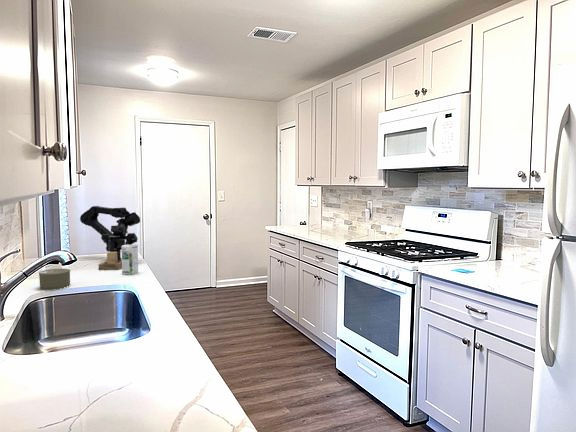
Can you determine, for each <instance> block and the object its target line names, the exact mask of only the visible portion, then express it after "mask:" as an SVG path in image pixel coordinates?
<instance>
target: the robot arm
mask: <svg viewBox="0 0 576 432" xmlns="http://www.w3.org/2000/svg"><path fill="white" fill-rule="evenodd" d="M99 214H101V215H109V216H111V217H113V218H116V219H117V218H118V219H117V220H116V223H117V224H116V225H111V226H110V230H109V229H108V228H107V227H105V226H104V225H103V224H102V223H101V222H100V221H99V220H98V218H99V216H100V215H99ZM79 221H80V222H81V223H82V224H83V225H84V226H88V227H91V228H92V229H93V230H94V231H96V232H97V233H98V234H100V239H101V241H102V242H103V243H104V244H105V245H106V247H105V250H106V252H107V253H108V252H117V261H122V246H123V245H134V244H135V243H137V242H138V237H137V236H138V235H136V233H135V232H128V229H129V227H132V226H135V225H137V224H140V222H141V217H140V216H139V214H137V213H136V211H135V212H131V213H130V212H129V211H128V210H127V208H126V207H113V208H112V207H107V206H99V205H94V206H93V205H92V206H91V207H90V208H89V209H87V210H86V211H85V212H83V213H82V214H80V218H79Z"/></svg>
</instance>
